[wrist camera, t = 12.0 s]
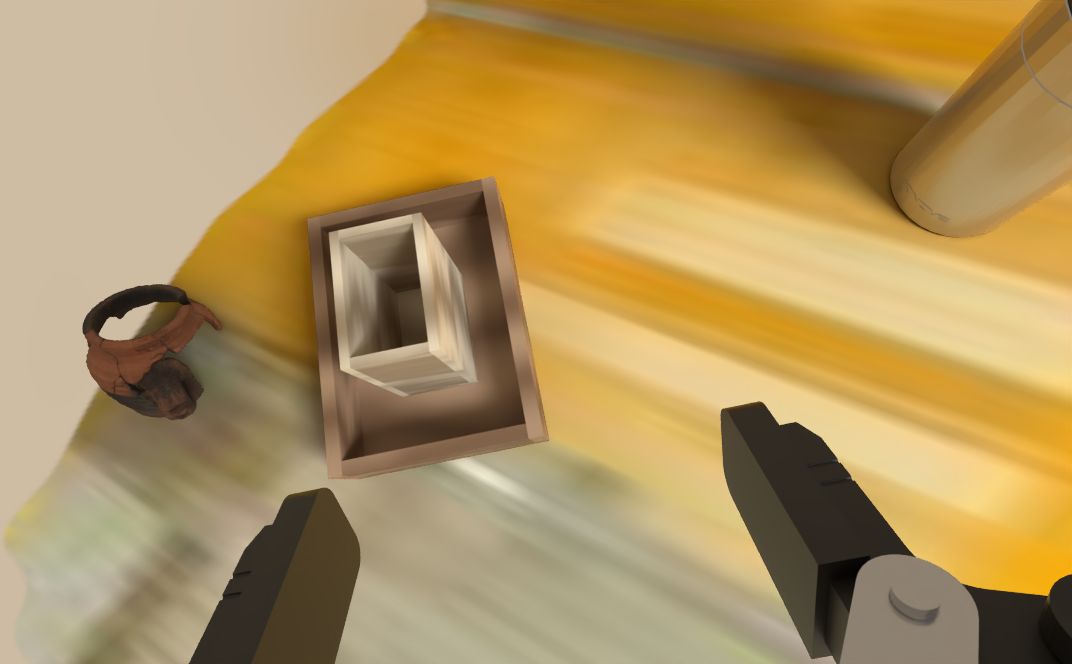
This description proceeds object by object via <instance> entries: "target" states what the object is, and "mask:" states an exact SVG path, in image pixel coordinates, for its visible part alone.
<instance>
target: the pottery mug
mask: <svg viewBox="0 0 1072 664" xmlns="http://www.w3.org/2000/svg"><path fill="white" fill-rule="evenodd" d="M153 302H179V303H180V304H182V306H180V308H179V310H178V312H177V314H176V316H175V317H174V319H173V320H171V321H170V322H169V323H168V324H167V325H165V326H164V327H162V328H160V329H159V330H157V331H156V332H154V333H152V334H151V335H146V336H143V337H140V338H135V339H130V340H122V341H117V340H116V341H114V340H107V339H104V338H102V337H100V336H99V332H100V330H101V328H102V327H103V325H104V323H105V322H106V320H107V319H108V318H109V317H117V318H118V319H121V318H123V317H124V315H125V314H126V313H127V312H128V311H130V310H132V309H133V308H136V307H140V306H143V305H147V304H150V303H153ZM203 320H206V321H208V322H209V323H210V324H212V325H213V326H214V328H215V329H216V330H218V331H219V330H222V326H221V324H220V322H219V321H218V320H217V318H216V317H215V316H214V314H213V313H211V311H210V310H209V309H207V308H206V307H205V306H204V305H202V304H200V303H198V302H196V301H194V300H192V299H189V298H187V295H186V292H185V291H183V290H181V289H179V288H177V287H173V286H170V285H163V284H156V285H150V286H149V285H145V286H137V287H134V288H130V289H126V290H124V291H121V292H118V293H116V294H113V295H112V296H110V297H108V298H106V299H105V300H104V301H102V302H100V303H99V304H98V305H96V306H95V307H94V308H93V309H92V310H91V311H90V312H89V313H88V314H87V316H86V318H85V320H84V322H83V334H84V335H85V338H86V339H87V342H88V347H89V350H88V354H87V360H86V363H87V367H88V369H89V371H90V374H91V376H92V377H93V378H94V380H95V381H96V382H97V383H98V385H99V386H100V387H101V389H102V390H103V391H105V392H106V393H107V394H108V395H109V396H110V397H112V398H113V399H115V400H117V401H118V402H119V403H121V404H123V405H125V406H127V407H129V408H132V409H133V410H135V411H136V412H138V413H140V414H142V415H145V416H150V417H166V418H168V419H170V420H177V419H184V418H186V417H187V416H189V415H191V414H192V413H193V412H194V411H195V409H196V400H197V399H198V398H199V397H200V396H201V394H202V392H203V388H201V385H199V384H198V383H197V382H196V381H195V380H194V379H193V378H194V376H193V375H192V373H191V372H190V371H189V368H188V367H187V366H186V365H185V364H183V363H181V362H179V361H178V360H176V359H173V358H166V359H163V360H162V357H163V355H164V354H166V352H167V351H171V352H173V353H175V354H178V353H179V352H180V351H181V350H182V349H183V348H184V346H185V345H186V344H187V343H188V342H189V341H190V340H191V339H192V338H193V336H194V334H195V333H196V331H197V330H198V329H199V328H200V326H201V325H202V323H203ZM137 384H139V385H140V386H141V387H142V388H143V389H145V390H144V391H143V392H142V391H141V390H140V389H138V388H137V387H136V386H134V385H137Z"/></svg>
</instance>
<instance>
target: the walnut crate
mask: <svg viewBox="0 0 1072 664" xmlns="http://www.w3.org/2000/svg"><path fill="white" fill-rule="evenodd" d="M420 212H421V213H422V215H423V217H424V218H425V220H426V221H427V223H428V224H429V226H430V227H431V229H432V230H433V232H434V233H435V235H436V236H437V238H438V239H439V241H440V243H441V244H442V246H443V247H444V249H445V250H446V252H447V253H448V255H449V256H450V258H451V259H452V261H453V262H454V264H455V265H456V267H457V269H458V270H459V272H460V273H461V275H462V279H463V286H464V292H465V298H466V305H467V311H468V318H469V324H470V331H471V337H472V344H473V350H474V357H475V363H476V370H477V376H478V382H476V383H471V384H466V385H461V386H456V387H451V388H446V389H441V390H436V391H431V392H426V393H421V394H416V395H411V396H406V397H402V396H400V395H397V394H395V393H393V392H390V391H388V390H386V389H383V388H381V387H379V386H377V385H374V384H372V383H370V382H367V381H365V380H363V379H360V378H358V377H356V376H353V375H351V374H349V373H346V372H344V371H342V370H340V359H339V347H338V336H337V324H336V312H335V300H334V288H333V276H332V264H331V252H330V240H329V232H333V231H338V230H343V229H347V228H352V227H356V226H361V225H365V224H370V223H375V222H379V221H384V220H388V219H393V218H397V217H402V216H407V215H411V214H416V213H420ZM307 223H308V235H309V247H310V260H311V272H312V284H313V297H314V309H315V321H316V334H317V346H318V359H319V371H320V383H321V396H322V408H323V420H324V433H325V445H326V457H327V470H328V479H361V478H366V477H371V476H376V475H381V474H386V473H391V472H396V471H401V470H406V469H411V468H415V467H420V466H425V465H430V464H435V463H440V462H445V461H450V460H455V459H460V458H465V457H470V456H475V455H480V454H485V453H490V452H495V451H500V450H505V449H510V448H515V447H520V446H525V445H529V444H534V443H539V442H544V441H549V437H548V432H547V426H546V421H545V416H544V411H543V406H542V401H541V395H540V390H539V385H538V380H537V375H536V369H535V364H534V359H533V354H532V349H531V344H530V338H529V333H528V328H527V323H526V318H525V312H524V307H523V302H522V297H521V292H520V287H519V281H518V276H517V271H516V266H515V261H514V256H513V250H512V245H511V240H510V235H509V230H508V224H507V219H506V214H505V209H504V205H503V202H502V199H501V196H500V193H499V190H498V187H497V184H496V181H495V178H494V176H493V177H489V178H484V179H480V180H476V181H471V182H467V183H463V184H458V185H454V186H449V187H445V188H441V189H436V190H432V191H427V192H423V193H419V194H414V195H410V196H405V197H401V198H397V199H392V200H388V201H383V202H379V203H375V204H370V205H366V206H362V207H357V208H353V209H348V210H344V211H340V212H335V213H331V214H326V215H322V216H318V217H313V218H309V219H307Z"/></svg>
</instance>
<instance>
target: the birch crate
mask: <svg viewBox="0 0 1072 664" xmlns="http://www.w3.org/2000/svg"><path fill="white" fill-rule="evenodd" d="M329 240H330V252H331V264H332V276H333V288H334V300H335V312H336V324H337V336H338V347H339V359H340V370H342V371H344V372H346V373H349V374H351V375H353V376H356V377H358V378H360V379H363V380H365V381H367V382H370V383H372V384H374V385H377V386H379V387H381V388H383V389H386V390H388V391H390V392H393V393H395V394H397V395H400V396H402V397H406V396H411V395H416V394H421V393H426V392H431V391H436V390H441V389H446V388H451V387H456V386H461V385H466V384H471V383H476V382H478V376H477V370H476V363H475V357H474V350H473V344H472V337H471V331H470V324H469V318H468V311H467V305H466V298H465V292H464V286H463V279H462V275H461V273H460V272H459V270H458V269H457V267H456V265H455V264H454V262H453V261H452V259H451V258H450V256H449V255H448V253H447V252H446V250H445V249H444V247H443V246H442V244H441V243H440V241H439V239H438V238H437V236H436V235H435V233H434V232H433V230H432V229H431V227H430V226H429V224H428V223H427V221H426V220H425V218H424V217H423V215H422V213H421V212H420V213H416V214H411V215H407V216H402V217H397V218H393V219H388V220H384V221H379V222H375V223H370V224H365V225H361V226H356V227H352V228H347V229H343V230H338V231H333V232H329Z"/></svg>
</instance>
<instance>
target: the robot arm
mask: <svg viewBox="0 0 1072 664" xmlns="http://www.w3.org/2000/svg"><path fill="white" fill-rule="evenodd" d="M1070 181H1072V0H1040V1H1039V2H1038V3H1037V4H1036V5H1035V6H1034V8H1033V9H1032V10H1031V11H1030V12H1029V13H1028V14H1027V15H1026V16H1025V18H1024V19H1023V20H1022V21H1021V22H1020V23H1019V24H1018V25H1017V26H1016V27H1015V28H1014V29H1013V31H1012V32H1011V33H1010V34H1009V35H1008V36H1007V37H1006V38H1005V39H1004V40H1003V41H1002V42H1001V43H1000V45H999V46H998V47H997V48H996V49H995V50H994V51H993V52H992V53H991V54H990V55H989V56H988V57H987V59H986V60H985V61H984V62H983V63H982V64H981V65H980V66H979V67H978V68H977V69H976V70H975V71H974V73H973V74H972V75H971V76H970V77H969V78H968V79H967V80H966V81H965V82H964V83H963V84H962V86H961V87H960V88H959V89H958V90H957V91H956V92H955V93H954V94H953V95H952V96H951V97H950V98H949V100H948V101H947V102H946V103H945V104H944V105H943V106H942V107H941V108H940V109H939V110H938V111H937V112H936V114H935V115H934V116H933V117H932V118H931V119H930V120H929V121H928V122H927V123H926V124H925V125H924V126H923V127H922V128H921V129H920V131H919V132H918V133H917V134H916V135H915V136H914V137H913V138H912V139H911V140H910V141H909V143H908V144H907V145H906V146H905V147H904V148H903V149H902V150H901V151H900V153H899V154H898V155H897V157H896V159H895V161H894V163H893V165H892V169H891V174H890V182H891V189H892V192H893V195H894V198H895V200H896V201H897V203H898V205H899V207H900V208H901V209H902V210H903V212H904V213H905V214H906V215H907V216H908V217H909V218H910V219H912V220H913V221H914V222H916V223H917V224H918V225H920V226H922V227H924V228H925V229H927V230H929V231H931V232H935V233H938V234H941V235H944V236H952V237H973V236H977V235H981V234H985V233H987V232H989V231H991V230H993V229H995V228H997V227H999V226H1000V225H1002V224H1003V223H1005V222H1007V221H1008V220H1010V219H1011V218H1013V217H1015V216H1016V215H1018V214H1019V213H1021V212H1022V211H1024V210H1026V209H1027V208H1029V207H1030V206H1032V205H1034V204H1036V203H1037V202H1039V201H1040V200H1042V199H1044V198H1045V197H1047V196H1048V195H1050V194H1051V193H1053V192H1055V191H1056V190H1058V189H1059V188H1061V187H1063V186H1064V185H1066V184H1067V183H1069V182H1070ZM721 433H722V452H723V467H724V473H725V478H726V482H727V485H728V488H729V491H730V494H731V496H732V498H733V500H734V502H735V505H736V507H737V509H738V511H739V513H740V515H741V517H742V519H743V521H744V523H745V525H746V527H747V529H748V531H749V533H750V535H751V537H752V539H753V541H754V543H755V545H756V547H757V549H758V551H759V553H760V555H761V557H762V559H763V561H764V563H765V565H766V567H767V570H768V572H769V574H770V576H771V578H772V580H773V582H774V584H775V586H776V588H777V590H778V592H779V594H780V596H781V598H782V600H783V602H784V604H785V606H786V608H787V610H788V612H789V614H790V616H791V618H792V620H793V622H794V624H795V626H796V628H797V630H798V632H799V634H800V637H801V639H802V641H803V643H804V645H805V647H806V649H807V651H808V653H809V655H810V657H811V659H815V658H821V657H826V656H833V658H834V660H835V662H836V664H1072V574H1071V575H1067V576H1065V577H1063V578H1060V579H1059V580H1058V581H1057V582H1055V583H1054V585H1053V586H1052V588H1051V590H1050V593H1049V595H1048V596H1043V595H1034V594H1025V593H1016V592H1006V591H997V590H988V589H982V588H976V587H972V586H968V585H965V584H962V583H960V582H959V581H958V580H957V579H956V578H955V577H953V576H952V575H951V574H950V573H948V572H947V571H945V570H943V569H942V568H940V567H939V566H937V565H934V564H932V563H930V562H928V561H925V560H922V559H920V558H916V557H915V556H914V555H913V554H912V553H911V552H910V551H909V549H908V548H907V547H906V546H905V545H904V543H903V542H902V541H901V539H900V538H899V537H898V536H897V534H896V533H895V532H894V530H893V529H892V528H891V527H890V525H889V524H888V523H887V521H886V520H885V519H884V518H883V516H882V515H881V514H880V512H879V511H878V510H877V509H876V507H875V506H874V505H873V504H872V502H871V501H870V500H869V498H868V497H867V496H866V495H865V493H864V492H863V491H862V489H861V488H860V487H859V486H858V484H857V483H856V482H855V481H853V480H852V479H851V475H850V474H849V473H848V471H847V470H846V469H845V468H844V466H843V465H842V464H841V463H839V462H838V460H837V457H836V456H835V455H834V454H833V452H832V451H831V450H830V448H829V447H828V446H827V445H826V443H825V442H824V441H823V439H822V438H821V437H819V436H818V435H816V434H814V433H813V432H811V431H810V430H808V429H807V428H805V427H803V426H802V425H800V424H799V423H797V422H794V423H789V424H784V425H779V424H778V423H777V421H776V420H775V418H774V417H773V416H772V414H771V413H770V411H769V410H768V408H767V407H766V406H765V404H763V403H762V402H754V403H749V404H745V405H740V406H735V407H730V408H725V409H722V410H721ZM359 567H360V547H359V542H358V539H357V536H356V534H355V532H354V531H353V529H352V527H351V525H350V523H349V521H348V520H347V518H346V516H345V514H344V512H343V510H342V509H341V507H340V505H339V503H338V501H337V499H336V498H335V496H334V494H333V492H332V491H331V490H330V489H328V488H320V489H315V490H310V491H305V492H300V493H295V494H291V495H288V496H287V497H286V498H285V499H284V501H283V503H282V505H281V507H280V510H279V512H278V514H277V516H276V518H275V521H274V523H273V525H268V526H265V527H264V528H263V529H262V530H261V531H260V532H259V534H258V535H257V536H256V537H255V538H254V539H253V541H252V542H251V543H250V544H249V545H248V546H247V547H246V549H245V550H244V552H243V554H242V556H241V558H240V560H239V562H238V564H237V566H236V568H235V570H234V572H233V579H230V581H229V583H228V585H227V587H226V589H225V591H224V593H223V600H220V601H219V603H218V605H217V607H216V609H215V611H214V613H213V615H212V618H211V620H210V622H209V624H208V626H207V628H206V630H205V632H204V634H203V636H202V638H201V640H200V642H199V644H198V646H197V648H196V650H195V652H194V654H193V656H192V658H191V661H190V663H189V664H335V660H336V656H337V652H338V648H339V644H340V641H341V637H342V633H343V629H344V625H345V621H346V617H347V614H348V610H349V606H350V602H351V598H352V594H353V591H354V587H355V583H356V579H357V575H358V571H359Z"/></svg>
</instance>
